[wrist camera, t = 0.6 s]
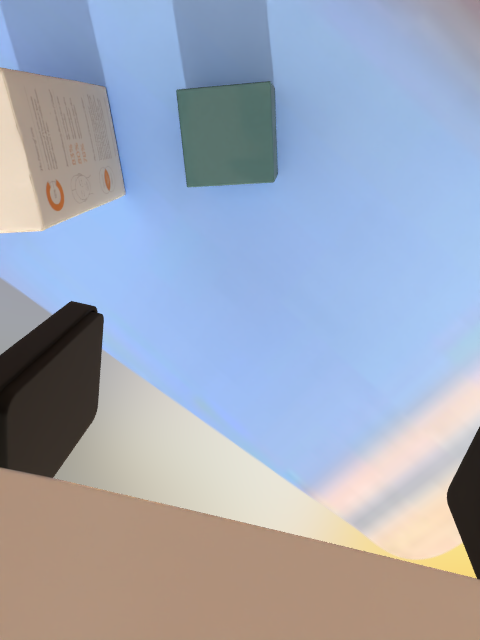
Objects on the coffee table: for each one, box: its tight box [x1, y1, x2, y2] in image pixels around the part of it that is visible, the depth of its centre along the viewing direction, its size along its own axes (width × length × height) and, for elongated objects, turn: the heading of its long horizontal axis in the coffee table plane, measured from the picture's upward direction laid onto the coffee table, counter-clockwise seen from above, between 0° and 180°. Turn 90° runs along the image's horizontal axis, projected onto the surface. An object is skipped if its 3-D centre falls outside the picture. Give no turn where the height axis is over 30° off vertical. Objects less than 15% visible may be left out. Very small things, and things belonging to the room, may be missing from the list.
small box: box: [0, 68, 125, 233], centre depth 30 cm, size 8×6×13 cm
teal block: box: [176, 81, 278, 187], centre depth 32 cm, size 6×6×5 cm
